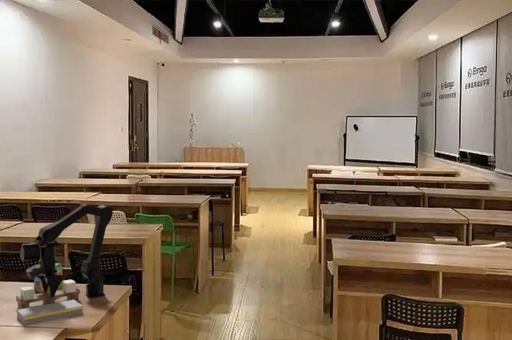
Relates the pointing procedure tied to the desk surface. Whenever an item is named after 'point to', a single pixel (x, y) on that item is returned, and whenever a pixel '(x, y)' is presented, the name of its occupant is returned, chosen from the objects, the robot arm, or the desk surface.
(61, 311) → the dock
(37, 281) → the chalk box
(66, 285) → the block
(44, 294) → the pallet
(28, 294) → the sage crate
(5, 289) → the desk surface
